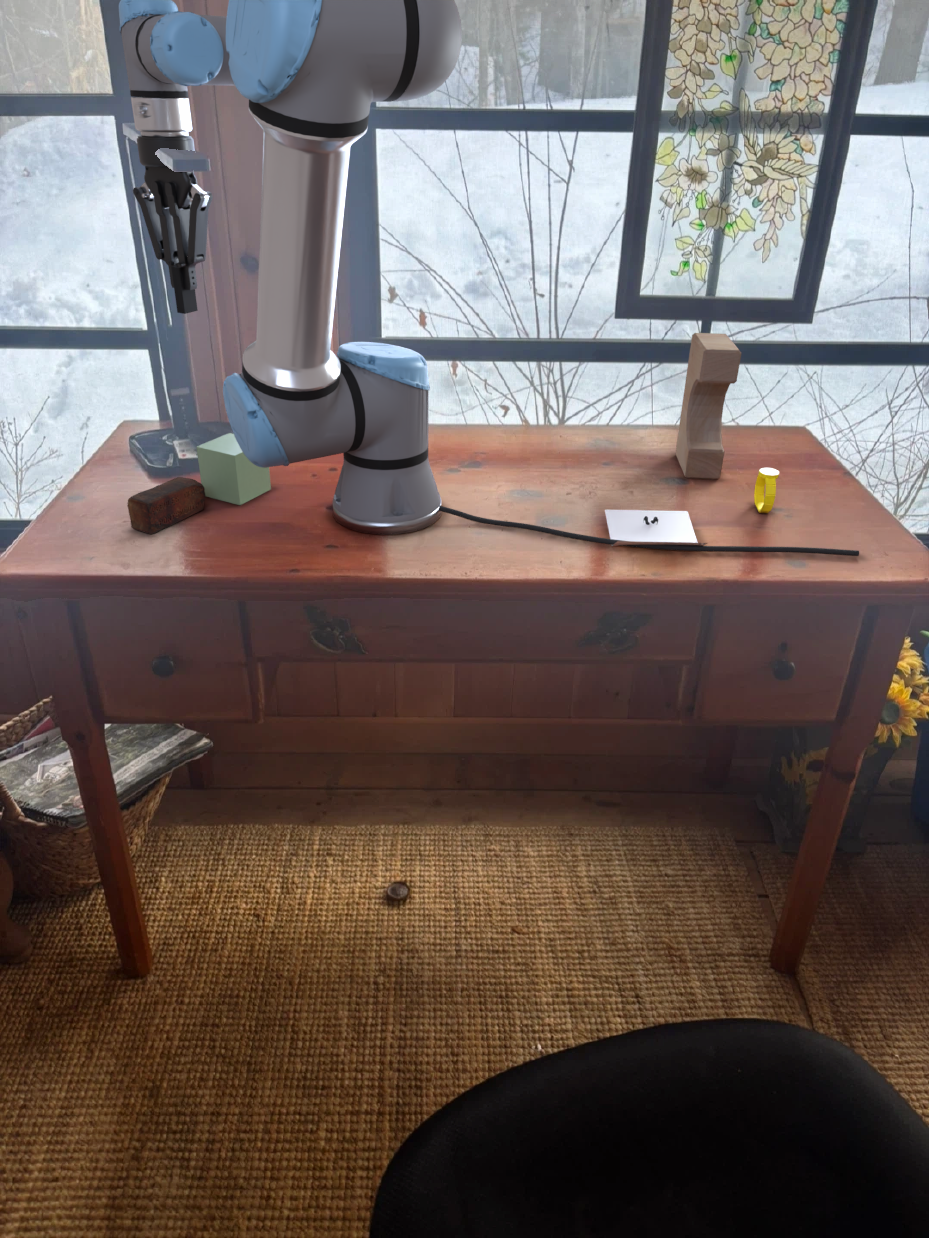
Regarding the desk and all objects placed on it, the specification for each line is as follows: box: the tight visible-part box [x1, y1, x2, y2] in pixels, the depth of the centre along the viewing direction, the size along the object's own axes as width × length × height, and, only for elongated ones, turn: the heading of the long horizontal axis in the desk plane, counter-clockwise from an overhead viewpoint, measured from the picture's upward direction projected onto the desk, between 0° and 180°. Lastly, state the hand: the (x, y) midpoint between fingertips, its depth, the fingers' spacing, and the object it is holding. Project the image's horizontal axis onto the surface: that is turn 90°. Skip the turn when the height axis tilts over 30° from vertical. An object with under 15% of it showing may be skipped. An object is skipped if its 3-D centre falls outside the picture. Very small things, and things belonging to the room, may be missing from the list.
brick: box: [126, 476, 206, 535], centre depth 125 cm, size 11×4×5 cm, turn 152°
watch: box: [753, 467, 780, 514], centre depth 132 cm, size 6×3×6 cm, turn 177°
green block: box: [195, 432, 272, 506], centre depth 133 cm, size 7×7×8 cm
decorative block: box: [674, 332, 742, 480], centre depth 142 cm, size 11×6×20 cm, turn 176°
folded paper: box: [604, 509, 708, 547], centre depth 124 cm, size 12×12×2 cm
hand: (187, 311), depth 137 cm, fingers closed
